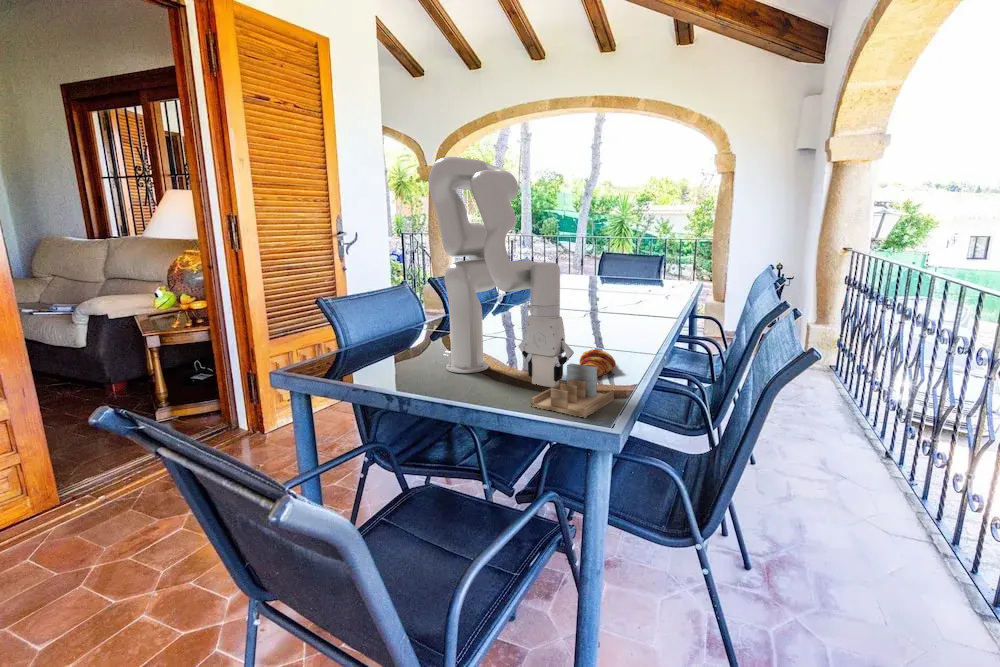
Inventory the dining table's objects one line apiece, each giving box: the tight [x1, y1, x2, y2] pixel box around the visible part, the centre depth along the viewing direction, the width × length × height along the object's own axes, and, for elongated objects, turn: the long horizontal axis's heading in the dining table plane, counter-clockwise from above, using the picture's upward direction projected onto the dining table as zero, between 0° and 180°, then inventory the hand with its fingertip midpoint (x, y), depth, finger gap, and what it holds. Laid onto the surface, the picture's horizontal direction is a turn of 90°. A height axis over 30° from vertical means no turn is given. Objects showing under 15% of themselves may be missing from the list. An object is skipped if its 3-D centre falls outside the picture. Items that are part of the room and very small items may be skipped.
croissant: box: [579, 348, 616, 377], centre depth 150 cm, size 21×10×8 cm, turn 154°
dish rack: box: [530, 362, 615, 418], centre depth 123 cm, size 14×15×8 cm
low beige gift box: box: [531, 355, 560, 388], centre depth 137 cm, size 7×2×8 cm, turn 54°
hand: (545, 377), depth 138 cm, fingers closed on low beige gift box, 7 cm apart
